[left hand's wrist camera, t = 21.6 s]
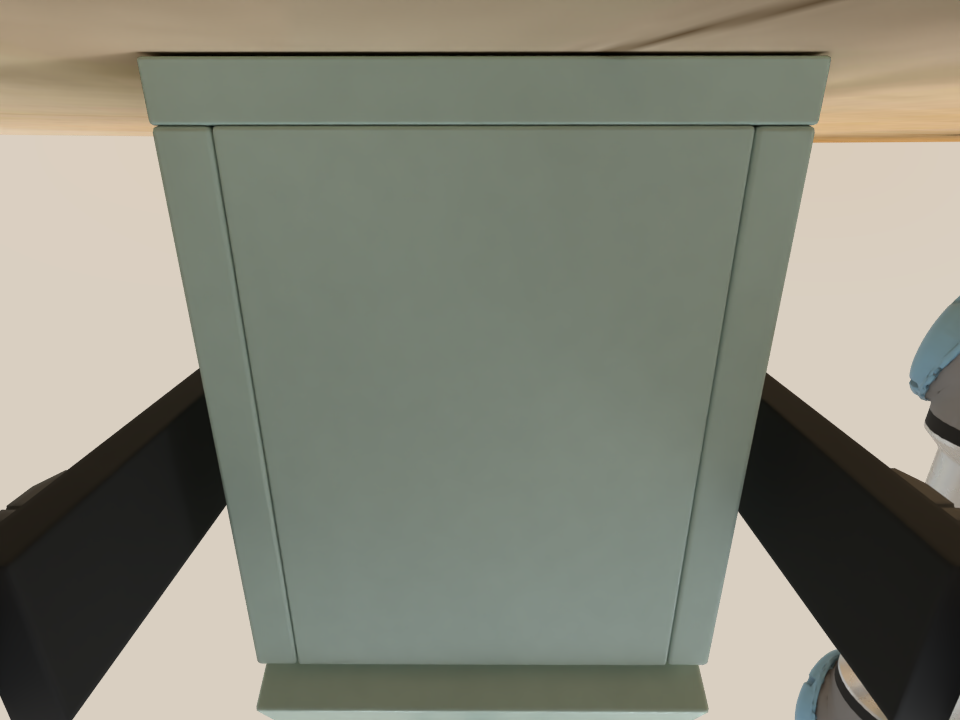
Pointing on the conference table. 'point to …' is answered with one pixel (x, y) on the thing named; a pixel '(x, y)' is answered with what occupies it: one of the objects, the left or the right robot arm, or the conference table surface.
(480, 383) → the chest
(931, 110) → the conference table surface
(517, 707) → the lid
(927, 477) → the right robot arm
